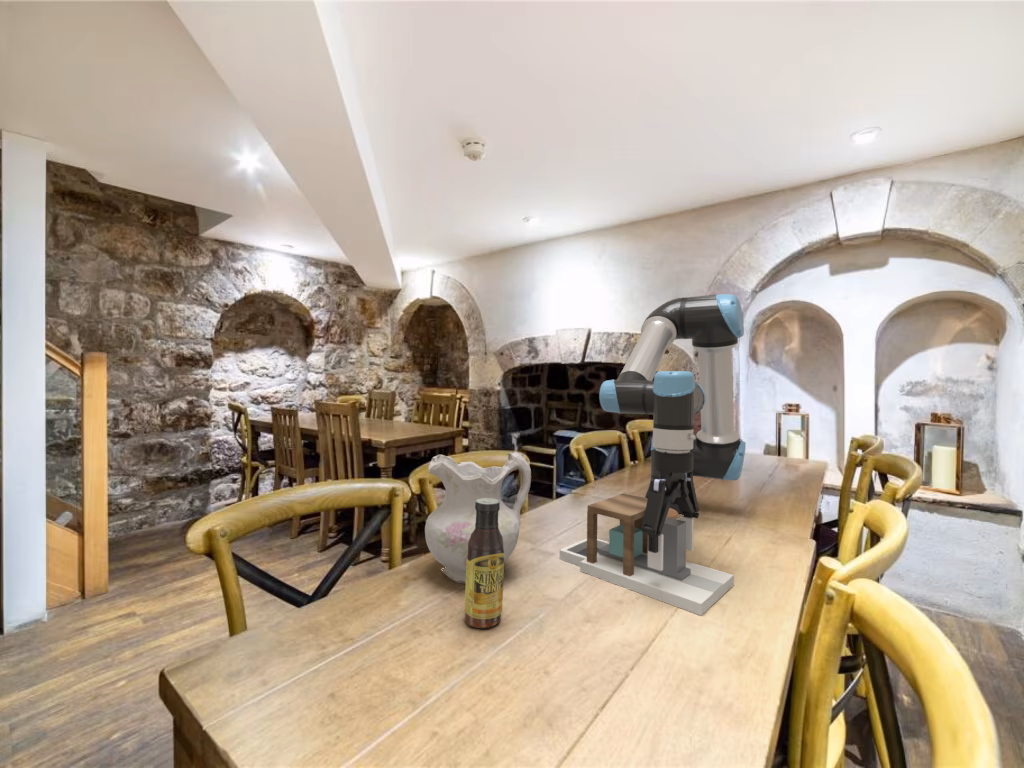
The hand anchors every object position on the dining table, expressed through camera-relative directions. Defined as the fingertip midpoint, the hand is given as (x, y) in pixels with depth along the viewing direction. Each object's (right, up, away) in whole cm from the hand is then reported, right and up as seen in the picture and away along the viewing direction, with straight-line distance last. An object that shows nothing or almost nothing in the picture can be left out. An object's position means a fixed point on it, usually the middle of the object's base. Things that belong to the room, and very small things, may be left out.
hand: (671, 558), depth 89 cm
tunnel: (-7, -3, +7) cm, 10 cm away
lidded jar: (+4, -5, +23) cm, 24 cm away
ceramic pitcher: (-38, -5, +5) cm, 39 cm away
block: (-7, -2, +7) cm, 10 cm away
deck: (-5, -5, +5) cm, 9 cm away
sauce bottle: (-36, -5, -14) cm, 39 cm away
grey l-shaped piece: (-4, -3, +4) cm, 7 cm away
